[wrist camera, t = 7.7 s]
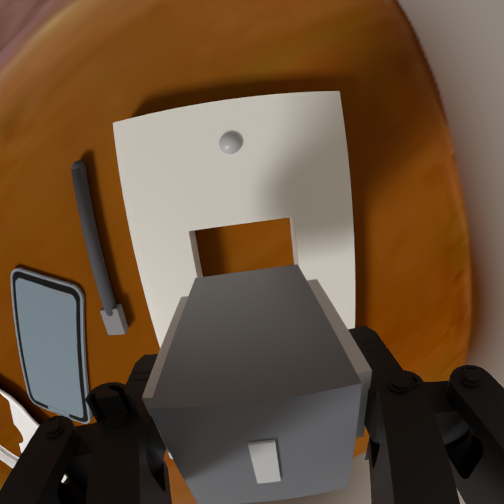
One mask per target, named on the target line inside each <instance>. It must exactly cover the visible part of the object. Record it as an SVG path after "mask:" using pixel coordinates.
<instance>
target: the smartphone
mask: <svg viewBox="0 0 504 504" xmlns="http://www.w3.org/2000/svg"><path fill="white" fill-rule="evenodd" d="M11 291H12V303H13V313H14V322H15V329H16V336H17V343H18V349H19V355H20V360H21V365H22V370H23V375H24V379H25V384H26V388H27V392H28V396H29V398H30V400H31V401H32V402H33V403H34V404H36V405H37V406H40V407H42V408H44V409H47V410H49V411H52V412H54V413H57V414H59V415H62V416H65V417H68V418H70V419H72V420H75V421H78V422H81V423H84V424H86V423H89V422H90V420H91V418H92V411H91V410H90V408H89V406H88V404H87V402H86V400H85V399H86V397H87V395H88V393H89V385H88V375H87V363H86V346H85V316H84V295H83V292H82V290H81V289H80V288H79V287H78V286H77V285H75V284H73V283H70V282H66V281H63V280H59V279H56V278H53V277H50V276H45V275H42V274H40V273H37V272H32V271H30V270H26V269H24V268H20V267H18V268H16V269H14V270H13V271H12V273H11Z"/></svg>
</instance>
